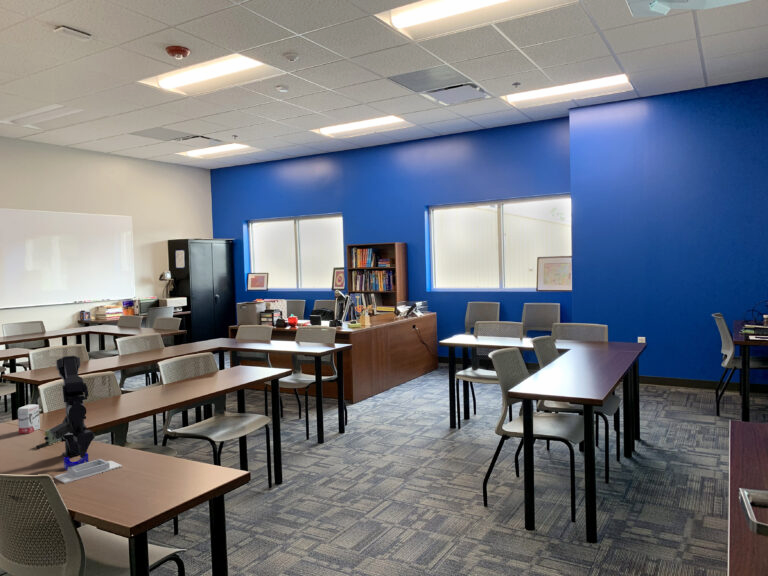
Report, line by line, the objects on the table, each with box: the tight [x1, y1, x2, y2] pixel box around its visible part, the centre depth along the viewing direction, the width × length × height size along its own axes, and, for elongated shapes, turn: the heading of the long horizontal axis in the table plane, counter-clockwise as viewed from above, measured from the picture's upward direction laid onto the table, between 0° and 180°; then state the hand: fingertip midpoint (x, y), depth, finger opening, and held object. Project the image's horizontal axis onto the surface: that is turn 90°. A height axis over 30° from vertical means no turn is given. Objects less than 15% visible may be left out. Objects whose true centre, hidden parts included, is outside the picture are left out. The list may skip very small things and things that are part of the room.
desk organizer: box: [54, 458, 123, 484], centre depth 207 cm, size 9×20×3 cm, turn 140°
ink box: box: [17, 403, 41, 435], centre depth 264 cm, size 9×5×12 cm, turn 179°
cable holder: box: [63, 452, 90, 471], centre depth 214 cm, size 8×4×4 cm, turn 133°
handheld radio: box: [35, 427, 61, 449], centre depth 248 cm, size 7×3×25 cm
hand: (77, 455), depth 214 cm, fingers open, 9 cm apart
